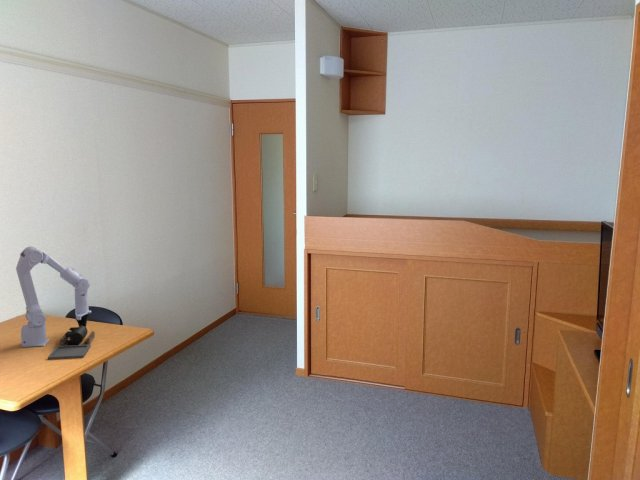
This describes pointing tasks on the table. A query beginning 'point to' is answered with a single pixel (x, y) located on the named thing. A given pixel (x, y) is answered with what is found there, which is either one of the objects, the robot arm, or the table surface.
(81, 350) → the tray
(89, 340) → the channel walls
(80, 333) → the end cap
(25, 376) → the table surface
